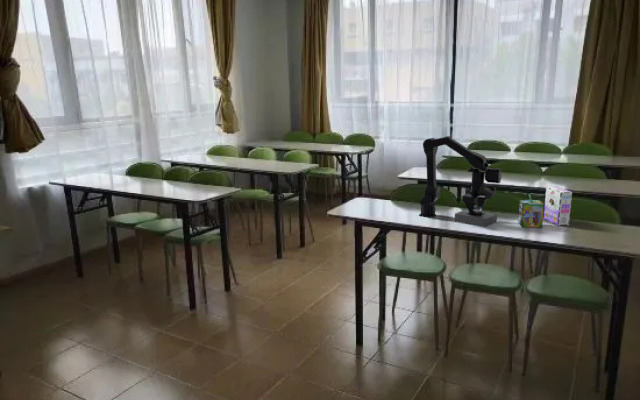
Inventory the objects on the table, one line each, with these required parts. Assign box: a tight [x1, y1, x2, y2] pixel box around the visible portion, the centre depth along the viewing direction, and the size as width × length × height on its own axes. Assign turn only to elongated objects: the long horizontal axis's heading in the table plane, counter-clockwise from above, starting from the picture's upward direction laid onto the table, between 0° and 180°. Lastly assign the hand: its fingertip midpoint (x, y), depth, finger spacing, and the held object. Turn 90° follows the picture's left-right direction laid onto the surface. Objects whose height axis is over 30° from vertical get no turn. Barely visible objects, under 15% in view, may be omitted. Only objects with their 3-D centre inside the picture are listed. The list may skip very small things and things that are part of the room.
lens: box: [473, 205, 483, 216], centre depth 240 cm, size 6×6×6 cm
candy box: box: [543, 186, 573, 227], centre depth 236 cm, size 14×6×16 cm, turn 3°
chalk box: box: [517, 193, 545, 229], centre depth 232 cm, size 9×9×15 cm
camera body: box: [454, 208, 498, 228], centre depth 240 cm, size 16×12×4 cm
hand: (475, 212), depth 240 cm, fingers open, 9 cm apart
